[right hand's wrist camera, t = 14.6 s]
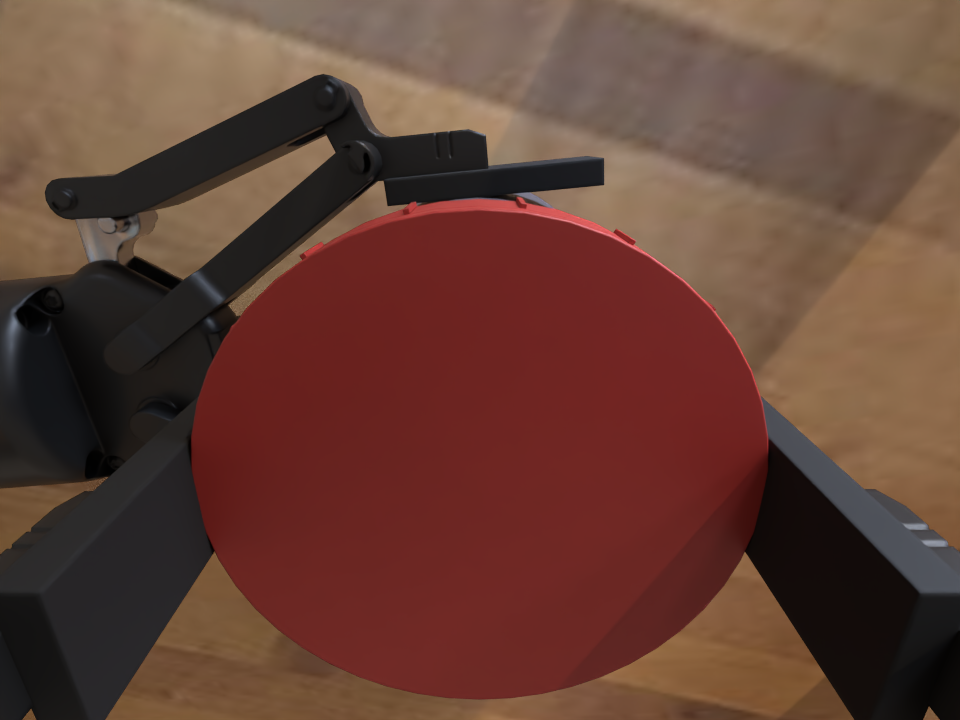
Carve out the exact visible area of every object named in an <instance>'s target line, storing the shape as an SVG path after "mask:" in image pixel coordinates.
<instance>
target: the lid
mask: <svg viewBox="0 0 960 720" xmlns="http://www.w3.org/2000/svg"><path fill="white" fill-rule="evenodd" d="M635 242H636V241H635V240H634V239H632V238H631V237H629V236H627V235H626V234H624V233H623V232H621V231H619V230H618V229H616V230H615V231H614V233H613V232H611V231H609V230H607V229H605V228H603V227H601V226H599V225H597V224H595V223H594V222H591V221H588V220H585V219H582V218H580V217H577V216H574V215H571V214H568V213H566V212H563V211H560V210H557V209H552V208H547V207H543V206H538V205H533V204H528V203H526V202H525V201H524V200H523V198H521V197H517V199H516V201H503V200H488V199H471V200H456V201H441V202H436V203H431V204H426V205H421V206H417V204H416V202H412V203H410V204H409V205H408V206H406V207H405V208H404V209H402V210H399V211H396V212H394V213H391V214H388V215H385V216H382V217H380V218H377V219H374V220H371V221H368V222H366V223H364V224H362V225H360V226H358V227H356V228H354V229H352V230H350V231H348V232H347V233H345V234H343V235H341V236H339V237H337V238H335V239H333V240H332V241H330V242H328V243H327V244H325V245H324V244H323V243H322V242H320V243H319V244H317V245H316V246H314V247H312V248H311V249H309V250H307V251H306V252H304V253H303V254H301V255H300V257H301V259H302V261H300V262H299V263H298V264H296V265H295V266H293V267H292V268H291V269H289V270H288V271H287V272H285V273H284V274H282V275H281V276H280V277H278V278H277V279H276V280H274V281H273V282H272V283H271V284H270V285H269V286H268V287H267V288H266V289H265V290H264V291H263V292H262V293H261V294H260V295H259V296H258V297H257V298H256V299H255V300H254V301H253V302H252V303H251V304H250V305H249V306H248V307H247V308H246V310H245V311H244V312H243V314H242V315H241V316H240V318H239V319H238V320H237V322H236V323H235V324H234V325H232V326H231V328H230V331H229V332H228V334H227V335H226V337H225V338H224V340H223V342H222V344H221V346H220V347H219V349H218V351H217V353H216V355H215V357H214V359H213V361H212V363H211V365H210V367H209V368H208V371H207V374H206V377H205V380H204V383H203V386H202V389H201V392H200V395H199V398H198V401H197V404H196V410H195V417H194V423H193V429H192V435H191V469H192V474H193V478H194V483H195V487H196V492H197V496H198V500H199V505H200V509H201V513H202V518H203V522H204V526H205V530H206V533H207V536H208V538H209V540H210V542H211V544H212V547H213V549H214V551H215V553H216V555H217V557H218V559H219V561H220V562H221V564H222V565H223V567H224V568H225V570H226V572H227V573H228V575H229V576H230V578H231V579H232V581H233V582H234V584H235V585H236V587H237V588H238V589H239V590H240V591H241V592H242V594H243V595H244V596H245V597H246V598H247V599H248V601H249V602H250V603H251V604H252V605H253V606H254V608H255V609H256V610H257V611H258V612H259V613H260V614H262V615H263V616H264V617H265V618H266V619H267V620H268V621H269V622H270V623H271V624H272V625H273V626H275V627H276V628H277V629H278V630H279V631H280V632H282V633H283V634H284V635H286V636H287V637H289V638H290V639H291V640H293V641H294V642H295V643H297V644H298V645H299V646H301V647H302V648H304V649H305V650H307V651H309V652H310V653H312V654H314V655H316V656H317V657H319V658H321V659H322V660H324V661H326V662H328V663H329V664H331V665H334V666H336V667H338V668H340V669H342V670H345V671H347V672H349V673H351V674H354V675H356V676H358V677H361V678H364V679H367V680H370V681H373V682H376V683H379V684H381V685H384V686H387V687H392V688H396V689H400V690H404V691H409V692H413V693H417V694H424V695H431V696H438V697H445V698H460V699H501V698H515V697H522V696H529V695H537V694H543V693H547V692H552V691H556V690H560V689H564V688H569V687H573V686H576V685H579V684H582V683H584V682H587V681H590V680H593V679H596V678H599V677H602V676H604V675H606V674H609V673H611V672H613V671H615V670H618V669H620V668H622V667H624V666H626V665H629V664H631V663H632V662H634V661H636V660H637V659H639V658H641V657H643V656H644V655H646V654H648V653H650V652H651V651H653V650H655V649H656V648H658V647H659V646H660V645H662V644H663V643H665V642H666V641H667V640H669V639H670V638H671V637H673V636H674V635H676V634H677V633H678V632H680V631H681V630H682V629H683V628H684V627H685V626H686V625H687V624H689V623H690V622H691V621H692V620H693V619H694V618H695V617H696V616H697V615H698V614H699V613H700V612H702V611H703V610H704V609H705V607H706V606H707V605H708V604H709V603H710V602H711V600H712V599H713V598H714V597H715V596H716V595H717V593H718V592H719V591H720V590H721V589H722V587H723V586H724V585H725V583H726V582H727V580H728V579H729V577H730V576H731V574H732V573H733V571H734V570H735V568H736V566H737V565H738V563H739V562H740V560H741V558H742V556H743V554H744V552H745V550H746V548H747V546H748V544H749V542H750V539H751V537H752V535H753V533H754V529H755V525H756V521H757V517H758V513H759V509H760V504H761V500H762V496H763V491H764V487H765V482H766V478H767V473H768V433H767V427H766V421H765V415H764V409H763V403H762V400H761V397H760V394H759V391H758V388H757V385H756V382H755V379H754V376H753V373H752V370H751V368H750V366H749V365H748V363H747V361H746V359H745V357H744V355H743V353H742V351H741V349H740V347H739V345H738V344H737V342H736V340H735V338H734V337H733V335H732V334H731V333H730V331H729V330H728V329H727V327H726V326H725V324H724V323H723V322H722V320H721V319H720V318H719V316H718V315H717V314H716V312H715V310H716V309H715V308H714V307H713V306H712V305H711V304H710V303H708V302H707V301H705V300H704V299H703V298H702V297H701V296H700V295H699V294H698V293H697V292H696V291H695V290H694V289H692V288H691V287H690V286H689V285H688V284H687V283H686V282H685V281H684V280H683V279H682V278H681V277H679V276H678V275H676V274H675V273H674V272H672V271H671V270H669V269H668V268H667V267H665V266H664V265H663V264H661V263H660V262H658V261H657V260H656V259H654V258H653V257H652V256H650V255H649V254H647V253H646V252H644V251H643V250H641V249H640V248H638V247H637V246H635V245H634V244H635Z"/></svg>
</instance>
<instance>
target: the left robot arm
mask: <svg viewBox="0 0 960 720" xmlns="http://www.w3.org/2000/svg"><path fill="white" fill-rule="evenodd" d="M363 104H364V103H363V99H362V96H361V94H360V93H359V91H358V90H357V89H356V88H355V87H353V86H352V85H351V84H348V83H346V82H344V81H342V80H339V79H337V78H335V77H333V76H330V75H325V74H322V75H317V76H314V77H312V78H310V79H308V80H306V81H304V82H302V83H300V84H298V85H296V86H294V87H292V88H290V89H288V90H286V91H284V92H282V93H280V94H278V95H276V96H274V97H272V98H270V99H268V100H266V101H264V102H262V103H260V104H258V105H256V106H254V107H252V108H250V109H247V110H245V111H243V112H241V113H239V114H237V115H235V116H233V117H231V118H229V119H227V120H225V121H223V122H221V123H219V124H217V125H215V126H213V127H211V128H209V129H207V130H205V131H203V132H201V133H199V134H197V135H195V136H193V137H191V138H189V139H187V140H185V141H183V142H181V143H179V144H177V145H175V146H173V147H171V148H169V149H167V150H165V151H163V152H161V153H159V154H157V155H155V156H153V157H151V158H149V159H147V160H144V161H142V162H140V163H138V164H136V165H134V166H132V167H130V168H128V169H126V170H124V171H122V172H120V173H118V174H107V175H96V176H84V177H72V178H60V179H56V180H52V181H51V182H50V183H49V184H48V185H47V187H46V190H45V197H46V201H47V203H48V205H49V207H50V208H51V209H52V210H53V211H54V212H55V213H56V214H57V215H58V216H60V217H62V218H65V219H71V220H74V219H75V221H76V224H77V227H78V230H79V233H80V236H81V239H82V243H83V246H84V249H85V252H86V255H87V258H88V262H89V263H88V264H86V265H85V266H83V267H82V268H81V269H80V270H79V271H78V272H76V273H75V274H71V275H60V276H50V277H39V278H29V279H18V280H8V281H0V488H13V487H26V486H39V485H52V484H64V483H77V482H86V481H92V480H97V479H101V478H105V477H109V476H111V475H112V474H113V473H114V472H115V471H116V470H117V469H118V468H120V467H121V466H122V465H123V464H124V463H125V462H126V461H127V460H128V459H130V458H131V457H132V456H133V455H134V454H135V453H136V452H137V451H138V450H140V449H141V448H142V447H143V446H144V445H145V444H146V443H147V442H148V441H150V440H151V439H152V438H153V437H154V436H155V435H156V434H157V433H158V432H160V431H161V430H162V429H163V428H164V427H165V426H166V425H167V424H168V423H170V422H171V421H172V420H173V419H174V418H175V417H176V416H177V415H178V414H180V413H181V412H182V411H183V410H184V409H185V408H186V407H187V406H188V405H190V404H191V403H192V402H193V401H194V400H195V399H196V398H197V397H198V396H199V395H200V392H201V389H202V386H203V383H204V380H205V377H206V374H207V371H208V368H209V367H210V365H211V363H212V361H213V359H214V357H215V355H216V353H217V351H218V349H219V347H220V346H221V344H222V342H223V340H224V338H225V337H226V335H227V334H228V332H229V331H230V328H231V326H232V325H234V324H235V323H236V322H237V320H238V319H239V318H240V316H236V315H235V313H234V312H233V311H232V309H231V308H230V307H229V306H228V305H229V304H230V303H231V302H233V301H234V300H235V299H236V298H238V297H239V296H240V295H241V294H242V293H244V292H245V291H246V290H247V289H249V288H250V287H251V286H252V285H253V284H254V283H256V281H257V280H258V279H259V278H261V277H262V276H263V275H264V274H266V273H267V272H268V271H269V270H270V269H272V268H273V267H274V266H275V265H276V264H278V263H279V262H280V261H281V260H283V259H284V258H285V257H286V256H287V255H289V254H290V253H291V252H292V251H294V250H295V249H296V248H297V247H298V246H300V245H301V244H302V243H303V242H304V241H306V240H307V239H308V238H309V237H311V236H312V235H313V234H314V233H315V232H317V231H318V230H319V229H320V228H322V227H323V226H324V225H325V224H326V223H328V222H329V221H330V220H331V219H333V218H334V217H335V216H336V215H337V214H339V213H340V212H341V211H342V210H343V209H345V208H346V207H347V206H348V205H350V204H351V203H352V202H353V201H354V200H356V199H357V198H358V197H359V196H361V195H362V194H363V193H364V192H365V191H367V190H368V189H369V188H370V187H372V186H373V185H374V184H375V183H376V182H378V181H384V185H385V192H386V198H387V205H388V206H394V205H404V204H410V203H412V202H416V203H425V202H435V201H445V200H455V199H466V198H476V197H486V196H496V195H507V194H517V193H527V192H537V191H548V190H558V189H568V188H578V187H589V186H599V185H604V158H598V157H590V156H584V157H574V158H564V159H554V160H543V161H533V162H523V163H513V164H503V165H493V166H488V157H487V145H486V135H484V134H481V133H478V132H475V131H472V130H469V129H467V130H458V131H448V132H438V133H428V134H418V135H409V136H399V137H389V136H386V135H384V134H382V133H381V132H380V131H379V130H378V129H377V128H376V127H375V126H374V124H373V123H372V121H371V119H370V117H369V115H368V113H367V111H366V109H365V107H364V105H363ZM326 135H327V137H328V139H329V141H330V142H331V144H332V146H333V148H334V150H335V152H336V153H335V154H334V155H333V156H332V157H331V158H329V159H328V160H327V161H326V162H325V163H324V164H322V165H321V166H320V167H319V168H318V169H317V170H315V171H314V172H313V173H312V174H311V175H310V176H308V177H307V178H306V179H305V180H304V181H303V182H301V183H300V184H299V185H298V186H297V187H295V188H294V189H293V190H292V191H291V192H290V193H288V194H287V195H286V196H285V197H284V198H283V199H281V200H280V201H279V202H278V203H277V204H276V205H274V206H273V207H272V208H271V209H270V210H269V211H267V212H266V213H265V214H264V215H263V216H262V217H260V218H259V219H258V220H257V221H256V222H255V223H253V224H252V225H251V226H250V227H249V228H248V229H246V230H245V231H244V232H243V233H242V234H241V235H239V236H238V237H237V238H236V239H235V240H234V241H232V242H231V243H230V244H229V245H228V246H226V247H225V248H224V249H223V250H222V251H221V252H219V253H218V254H217V255H216V256H215V257H214V258H212V259H211V260H210V261H209V262H208V263H207V264H205V265H204V266H203V267H202V268H200V269H199V270H198V271H196V272H195V273H193V274H192V275H190V276H189V277H187V278H186V279H184V280H182V279H180V278H179V277H177V276H175V275H173V274H171V273H169V272H167V271H165V270H163V269H161V268H159V267H157V266H155V265H153V264H152V263H150V262H148V261H146V260H144V259H142V258H139V257H137V256H134V253H133V247H134V243H135V242H136V240H137V239H138V238H140V237H142V236H145V235H147V234H149V233H151V232H152V231H153V229H154V227H155V222H156V221H157V219H158V214H157V213H156V211H155V210H156V209H161V208H166V207H170V206H174V205H178V204H181V203H184V202H186V201H189V200H191V199H193V198H195V197H197V196H199V195H202V194H204V193H206V192H208V191H210V190H212V189H214V188H216V187H218V186H220V185H223V184H225V183H227V182H229V181H231V180H233V179H235V178H237V177H239V176H241V175H244V174H246V173H248V172H250V171H252V170H254V169H256V168H258V167H260V166H263V165H265V164H267V163H269V162H271V161H273V160H275V159H277V158H279V157H281V156H284V155H286V154H288V153H290V152H292V151H294V150H296V149H298V148H300V147H302V146H305V145H307V144H309V143H311V142H313V141H315V140H317V139H319V138H321V137H323V136H326Z"/></svg>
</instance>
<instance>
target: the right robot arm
mask: <svg viewBox="0 0 960 720" xmlns="http://www.w3.org/2000/svg"><path fill="white" fill-rule="evenodd" d="M760 397H761V396H760ZM198 398H199V396H198V397H197V398H196V399H195V400H194V401H193V402H192V403H191V404H190V405H188V406H187V407H186V408H185V409H184V410H183V411H182V412H181V413H180V414H178V415H177V416H176V417H175V418H174V419H173V420H172V421H171V422H170V423H168V424H167V425H166V426H165V427H164V428H163V429H162V430H161V431H160V432H158V433H157V434H156V435H155V436H154V437H153V438H152V439H151V440H150V441H148V442H147V443H146V444H145V445H144V446H143V447H142V448H141V449H140V450H138V451H137V452H136V453H135V454H134V455H133V456H132V457H131V458H130V459H128V460H127V461H126V462H125V463H124V464H123V465H122V466H121V467H120V468H118V469H117V470H116V471H115V472H114V473H113V474H112V475H111V476H110V477H108V478H107V479H106V480H105V481H104V482H103V483H102V484H101V485H100V486H98V487H97V488H96V489H95V490H94V491H84V492H83V493H81V494H79V495H77V496H75V497H74V498H72V499H70V500H68V501H66V502H64V503H63V504H61V505H59V506H57V507H55V508H54V509H53V510H52V511H50V512H49V513H48V514H47V515H46V516H45V517H43V518H42V519H41V520H40V521H39V522H38V523H36V524H35V525H34V526H33V527H32V528H31V532H26V533H25V534H24V535H22V536H21V537H20V538H19V539H18V540H17V541H15V542H14V543H13V544H12V548H11V549H6V550H5V551H4V552H3V553H1V554H0V720H22V719H23V718H24V717H25V715H26V714H27V713H28V711H29V710H30V709H32V711H33V713H34V715H35V718H36V720H105V719H106V718H107V716H108V714H109V713H110V711H111V710H112V708H113V707H114V705H115V704H116V702H117V701H118V699H119V698H120V696H121V694H122V693H123V691H124V690H125V688H126V687H127V685H128V684H129V682H130V681H131V679H132V678H133V676H134V674H135V673H136V671H137V670H138V668H139V667H140V665H141V664H142V662H143V661H144V659H145V657H146V656H147V654H148V653H149V651H150V650H151V648H152V647H153V645H154V644H155V642H156V641H157V639H158V637H159V636H160V634H161V633H162V631H163V630H164V628H165V627H166V625H167V624H168V622H169V621H170V619H171V617H172V616H173V614H174V613H175V611H176V610H177V608H178V607H179V605H180V604H181V602H182V601H183V599H184V597H185V596H186V594H187V593H188V591H189V590H190V588H191V587H192V585H193V584H194V582H195V580H196V579H197V577H198V576H199V574H200V573H201V571H202V570H203V568H204V567H205V565H206V564H207V562H208V560H209V559H210V557H211V556H212V554H213V553H214V549H213V547H212V544H211V542H210V540H209V538H208V536H207V533H206V530H205V526H204V522H203V518H202V513H201V509H200V505H199V500H198V496H197V492H196V487H195V483H194V478H193V474H192V469H191V435H192V429H193V423H194V417H195V410H196V404H197V401H198ZM761 400H762V403H763V409H764V415H765V421H766V427H767V433H768V473H767V478H766V482H765V487H764V491H763V496H762V500H761V504H760V509H759V513H758V517H757V521H756V525H755V529H754V533H753V535H752V537H751V539H750V542H749V544H748V546H747V548H746V550H745V552H746V554H747V555H748V557H749V558H750V560H751V561H752V563H753V564H754V566H755V567H756V569H757V571H758V572H759V574H760V575H761V577H762V578H763V580H764V581H765V583H766V584H767V586H768V587H769V589H770V591H771V592H772V594H773V595H774V597H775V598H776V600H777V601H778V603H779V604H780V606H781V607H782V609H783V611H784V612H785V614H786V615H787V617H788V618H789V620H790V621H791V623H792V624H793V626H794V628H795V629H796V631H797V632H798V634H799V635H800V637H801V638H802V640H803V641H804V643H805V644H806V646H807V648H808V649H809V651H810V652H811V654H812V655H813V657H814V658H815V660H816V661H817V663H818V664H819V666H820V668H821V669H822V671H823V672H824V674H825V675H826V677H827V678H828V680H829V681H830V683H831V684H832V686H833V688H834V689H835V691H836V692H837V694H838V695H839V697H840V698H841V700H842V701H843V703H844V705H845V706H846V708H847V709H848V711H849V712H850V714H851V715H852V717H853V718H854V720H923V718H924V716H925V714H926V711H927V709H928V707H930V708H931V709H932V710H933V712H934V713H935V714H936V715H937V717H938V718H939V719H940V720H960V552H959V551H958V550H956V549H955V548H954V547H949V546H948V542H947V541H946V540H945V539H944V538H942V537H941V536H940V535H939V534H938V533H937V532H935V531H934V530H929V526H928V525H927V524H926V523H925V522H924V521H922V520H921V519H920V518H919V517H918V516H917V515H915V514H914V513H913V512H912V511H911V510H910V509H908V508H907V507H906V506H905V505H903V504H901V503H899V502H897V501H895V500H894V499H892V498H890V497H888V496H886V495H885V494H883V493H881V492H879V491H877V490H875V489H863V488H862V487H861V486H860V485H859V484H858V483H856V482H855V481H854V480H853V479H852V478H851V477H850V476H849V475H848V474H847V473H845V472H844V471H843V470H842V469H841V468H840V467H839V466H838V465H837V464H835V463H834V462H833V461H832V460H831V459H830V458H829V457H828V456H827V455H825V454H824V453H823V452H822V451H821V450H820V449H819V448H818V447H817V446H815V445H814V444H813V443H812V442H811V441H810V440H809V439H808V438H807V437H805V436H804V435H803V434H802V433H801V432H800V431H799V430H798V429H797V428H795V427H794V426H793V425H792V424H791V423H790V422H789V421H788V420H787V419H785V418H784V417H783V416H782V415H781V414H780V413H779V412H778V411H777V410H775V409H774V408H773V407H772V406H771V405H770V404H769V403H768V402H767V401H766V400H764V399H763V398H762V397H761Z"/></svg>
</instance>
